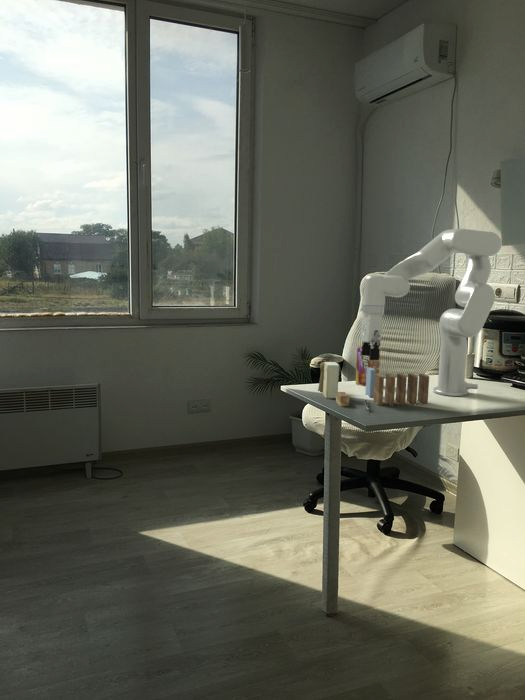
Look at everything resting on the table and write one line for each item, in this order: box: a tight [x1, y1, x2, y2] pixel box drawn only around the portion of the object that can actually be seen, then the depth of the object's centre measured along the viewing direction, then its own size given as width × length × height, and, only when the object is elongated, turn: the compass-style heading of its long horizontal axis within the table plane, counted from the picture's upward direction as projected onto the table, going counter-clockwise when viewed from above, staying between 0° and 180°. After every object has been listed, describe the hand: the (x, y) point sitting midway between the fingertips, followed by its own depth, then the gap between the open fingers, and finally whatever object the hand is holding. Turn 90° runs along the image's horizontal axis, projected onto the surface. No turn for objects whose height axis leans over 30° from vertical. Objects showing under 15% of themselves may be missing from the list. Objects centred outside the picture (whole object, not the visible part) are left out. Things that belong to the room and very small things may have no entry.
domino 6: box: [417, 373, 430, 405], centre depth 204 cm, size 2×5×10 cm, turn 7°
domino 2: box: [373, 373, 385, 406], centre depth 202 cm, size 2×5×10 cm, turn 7°
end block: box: [335, 391, 350, 407], centre depth 201 cm, size 3×6×4 cm, turn 7°
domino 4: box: [395, 373, 408, 406], centre depth 203 cm, size 2×5×10 cm, turn 8°
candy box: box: [355, 345, 381, 387], centre depth 232 cm, size 9×4×15 cm, turn 39°
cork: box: [317, 361, 326, 393], centre depth 220 cm, size 6×6×11 cm
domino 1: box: [365, 368, 375, 398], centre depth 214 cm, size 2×5×10 cm, turn 7°
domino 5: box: [406, 373, 419, 405], centre depth 204 cm, size 2×5×10 cm, turn 7°
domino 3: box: [384, 373, 396, 406], centre depth 203 cm, size 2×5×10 cm, turn 7°
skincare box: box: [322, 361, 340, 399], centre depth 211 cm, size 6×4×12 cm
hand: (369, 357), depth 212 cm, fingers open, 9 cm apart
